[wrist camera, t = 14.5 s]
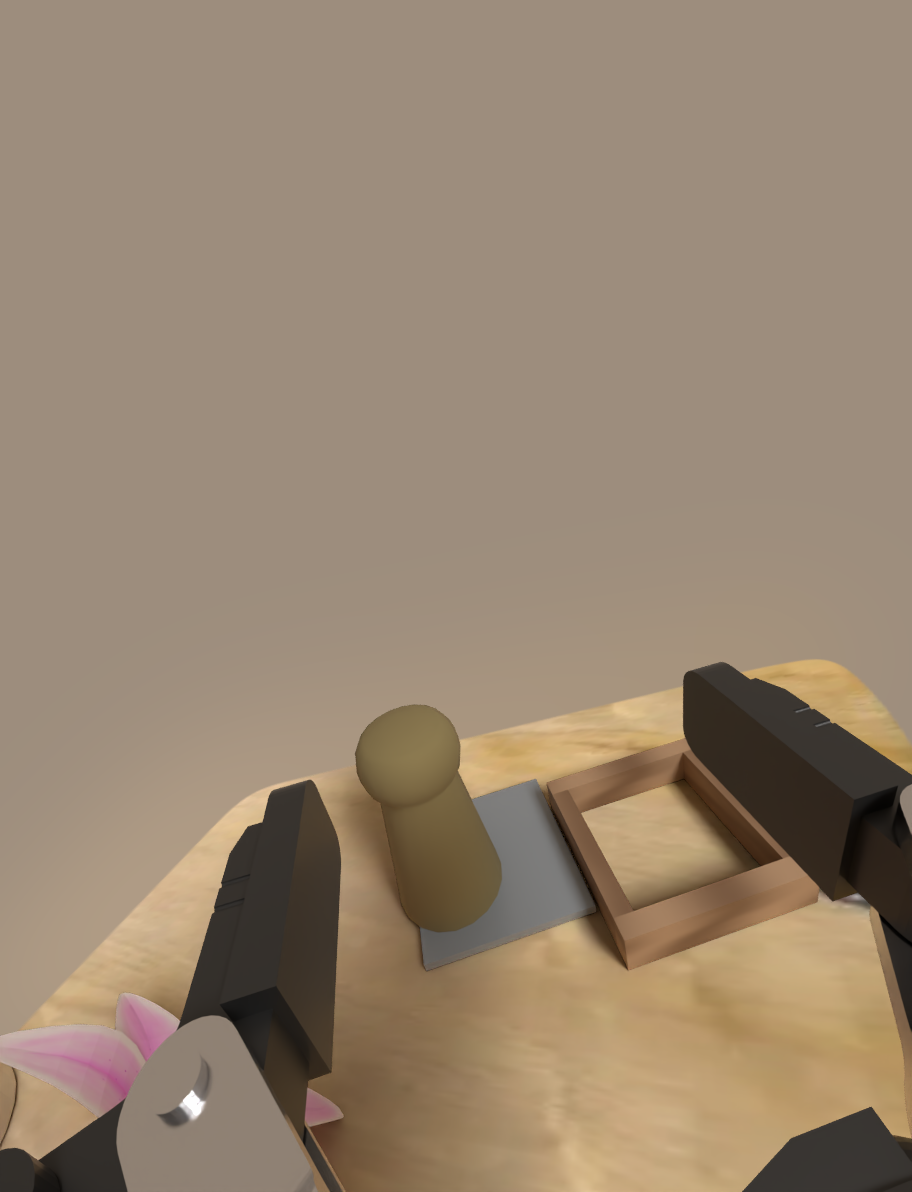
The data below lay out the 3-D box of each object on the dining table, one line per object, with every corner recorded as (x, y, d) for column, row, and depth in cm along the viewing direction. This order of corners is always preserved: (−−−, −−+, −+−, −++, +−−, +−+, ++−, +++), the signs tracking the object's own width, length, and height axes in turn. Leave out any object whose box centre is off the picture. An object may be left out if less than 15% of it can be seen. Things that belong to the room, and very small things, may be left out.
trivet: (426, 971, 23) (423, 965, 23) (410, 825, 31) (408, 819, 31) (596, 911, 24) (595, 905, 24) (537, 784, 32) (535, 778, 32)
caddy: (628, 970, 21) (624, 940, 20) (551, 807, 30) (546, 782, 29) (817, 901, 22) (821, 870, 21) (688, 763, 31) (687, 737, 30)
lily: (377, 1432, 13) (385, 1081, 14) (-236, 1848, 9) (-187, 1298, 9) (321, 1067, 24) (327, 878, 25) (36, 1167, 20) (51, 932, 20)
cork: (471, 952, 23) (414, 787, 19) (378, 906, 26) (311, 756, 22) (518, 847, 28) (481, 695, 23) (434, 819, 31) (388, 681, 26)
